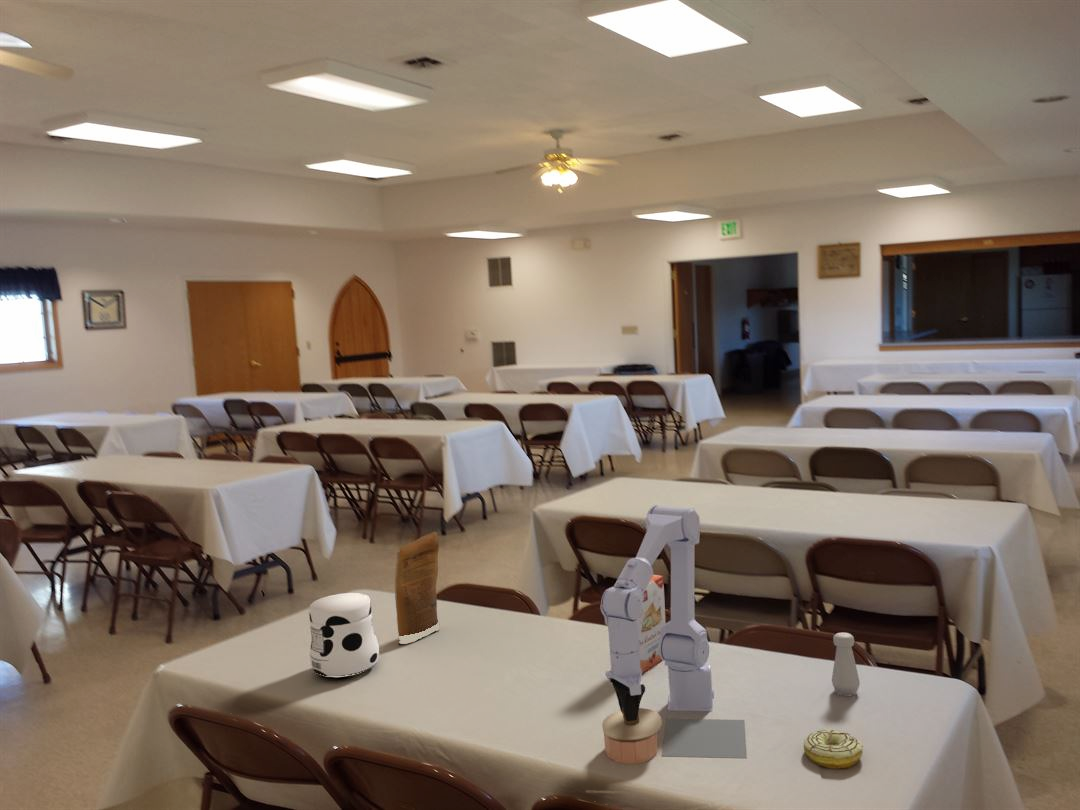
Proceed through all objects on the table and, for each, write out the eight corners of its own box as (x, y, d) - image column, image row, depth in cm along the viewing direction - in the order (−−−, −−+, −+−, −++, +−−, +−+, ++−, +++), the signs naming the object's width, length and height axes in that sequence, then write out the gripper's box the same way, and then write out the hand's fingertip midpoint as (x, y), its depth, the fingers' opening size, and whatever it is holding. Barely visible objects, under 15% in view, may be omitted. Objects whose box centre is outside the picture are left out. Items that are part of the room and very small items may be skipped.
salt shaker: (838, 684, 201) (835, 627, 199) (864, 689, 197) (861, 632, 196) (828, 694, 196) (825, 636, 195) (854, 699, 192) (851, 640, 191)
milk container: (388, 656, 239) (382, 590, 237) (369, 682, 222) (362, 611, 220) (325, 658, 241) (318, 593, 239) (301, 685, 224) (294, 614, 222)
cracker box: (640, 677, 213) (634, 591, 211) (618, 672, 216) (612, 587, 214) (669, 656, 224) (664, 574, 222) (648, 652, 227) (643, 572, 225)
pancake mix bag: (453, 626, 258) (445, 531, 255) (407, 649, 243) (397, 547, 240) (436, 623, 262) (427, 529, 259) (389, 645, 247) (379, 545, 244)
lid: (663, 710, 181) (661, 692, 181) (660, 738, 170) (657, 719, 169) (606, 713, 183) (603, 695, 183) (599, 741, 172) (596, 722, 172)
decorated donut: (864, 747, 172) (863, 728, 172) (861, 775, 163) (861, 755, 162) (807, 741, 176) (807, 722, 176) (802, 768, 167) (801, 748, 166)
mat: (744, 721, 186) (744, 719, 186) (746, 760, 171) (746, 758, 171) (666, 720, 189) (666, 718, 189) (661, 758, 174) (661, 756, 174)
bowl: (658, 740, 181) (657, 719, 180) (655, 765, 171) (654, 743, 171) (609, 739, 183) (607, 718, 182) (603, 764, 173) (601, 742, 173)
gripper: (596, 638, 182) (601, 703, 183) (613, 665, 167) (618, 735, 169) (630, 634, 183) (634, 698, 184) (649, 660, 168) (654, 730, 170)
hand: (629, 716), depth 176 cm, fingers closed on lid, 3 cm apart
